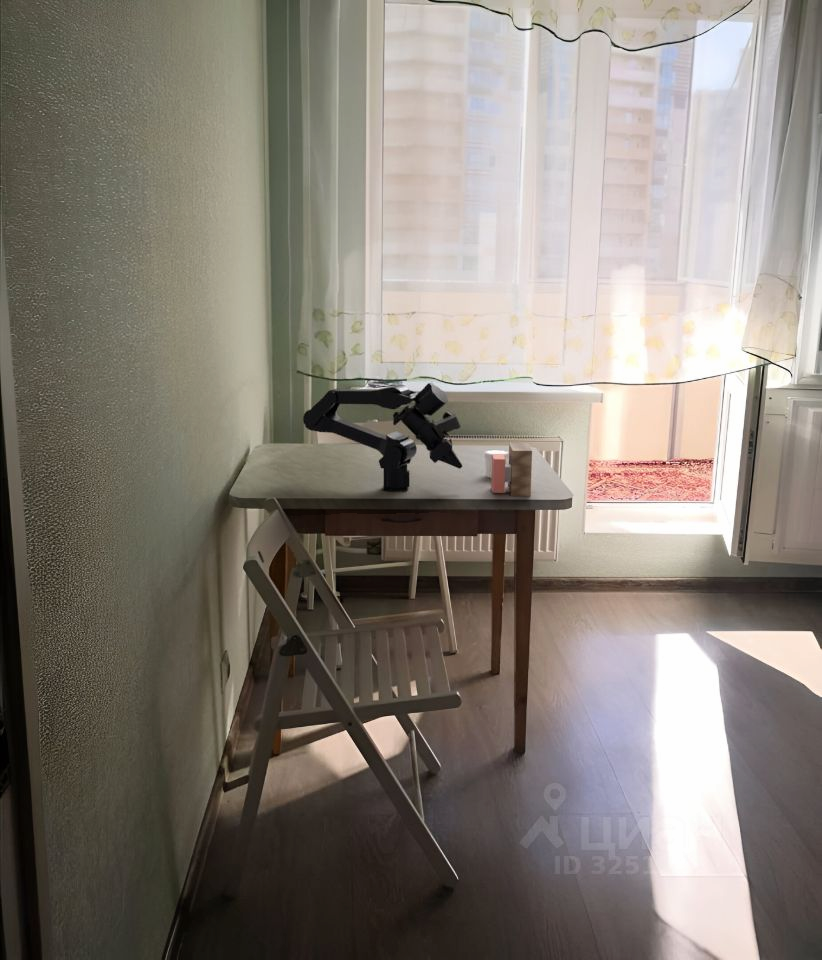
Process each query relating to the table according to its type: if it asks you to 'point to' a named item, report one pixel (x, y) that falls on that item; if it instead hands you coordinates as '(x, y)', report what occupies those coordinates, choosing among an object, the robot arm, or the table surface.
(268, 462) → the table surface
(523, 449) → the block
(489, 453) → the shot glass
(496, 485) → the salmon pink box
